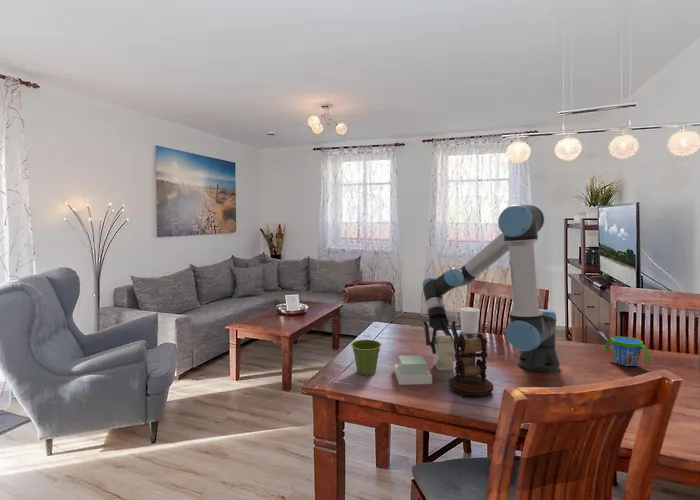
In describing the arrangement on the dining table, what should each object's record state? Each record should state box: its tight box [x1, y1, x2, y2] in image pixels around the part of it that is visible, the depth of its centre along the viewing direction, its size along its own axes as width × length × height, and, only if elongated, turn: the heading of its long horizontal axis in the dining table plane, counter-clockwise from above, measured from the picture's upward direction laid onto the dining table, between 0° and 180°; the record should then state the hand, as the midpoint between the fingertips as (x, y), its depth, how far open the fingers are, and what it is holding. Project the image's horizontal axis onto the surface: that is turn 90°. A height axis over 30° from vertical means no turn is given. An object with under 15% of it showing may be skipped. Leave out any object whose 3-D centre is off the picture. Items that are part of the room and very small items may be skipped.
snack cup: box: [604, 335, 650, 367], centre depth 159 cm, size 16×10×10 cm
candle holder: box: [460, 306, 481, 335], centre depth 207 cm, size 10×10×12 cm
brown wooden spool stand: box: [448, 332, 494, 398], centre depth 137 cm, size 15×15×20 cm
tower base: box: [393, 354, 433, 386], centre depth 148 cm, size 12×12×7 cm
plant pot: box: [350, 339, 382, 376], centre depth 154 cm, size 12×12×11 cm
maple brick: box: [434, 335, 455, 371], centre depth 158 cm, size 6×6×12 cm
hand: (446, 360), depth 155 cm, fingers closed on maple brick, 6 cm apart
